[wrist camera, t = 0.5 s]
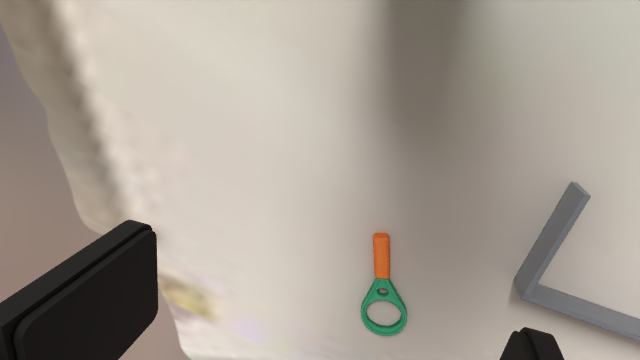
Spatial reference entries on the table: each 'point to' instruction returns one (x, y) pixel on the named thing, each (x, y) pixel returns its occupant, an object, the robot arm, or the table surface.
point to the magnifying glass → (383, 282)
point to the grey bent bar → (542, 257)
